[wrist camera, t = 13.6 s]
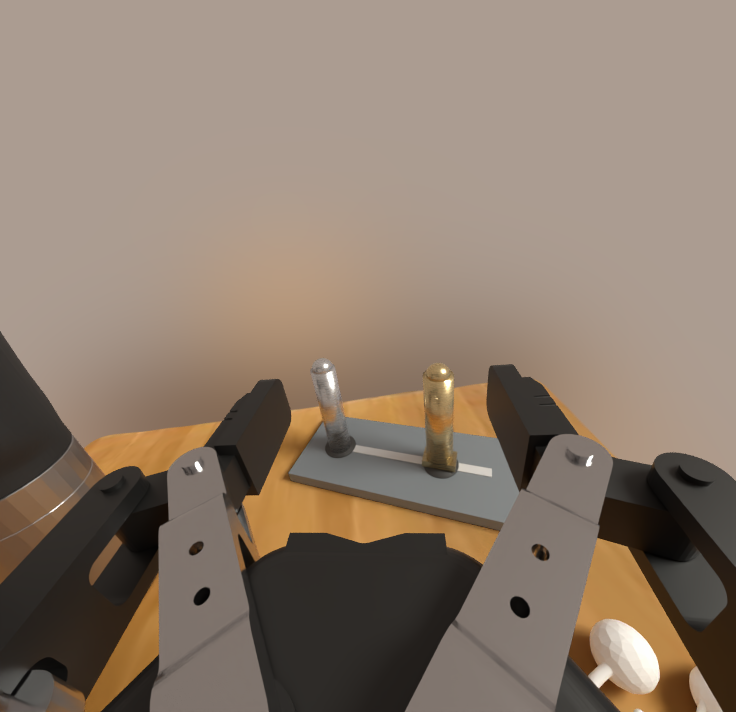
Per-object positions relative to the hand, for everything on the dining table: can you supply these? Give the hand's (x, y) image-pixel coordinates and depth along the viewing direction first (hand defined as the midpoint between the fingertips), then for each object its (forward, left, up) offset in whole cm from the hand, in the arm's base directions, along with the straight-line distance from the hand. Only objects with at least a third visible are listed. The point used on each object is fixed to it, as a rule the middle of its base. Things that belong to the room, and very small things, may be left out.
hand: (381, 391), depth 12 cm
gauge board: (-6, +18, -26) cm, 32 cm away
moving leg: (-1, +18, -24) cm, 30 cm away
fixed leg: (-15, +18, -24) cm, 34 cm away
